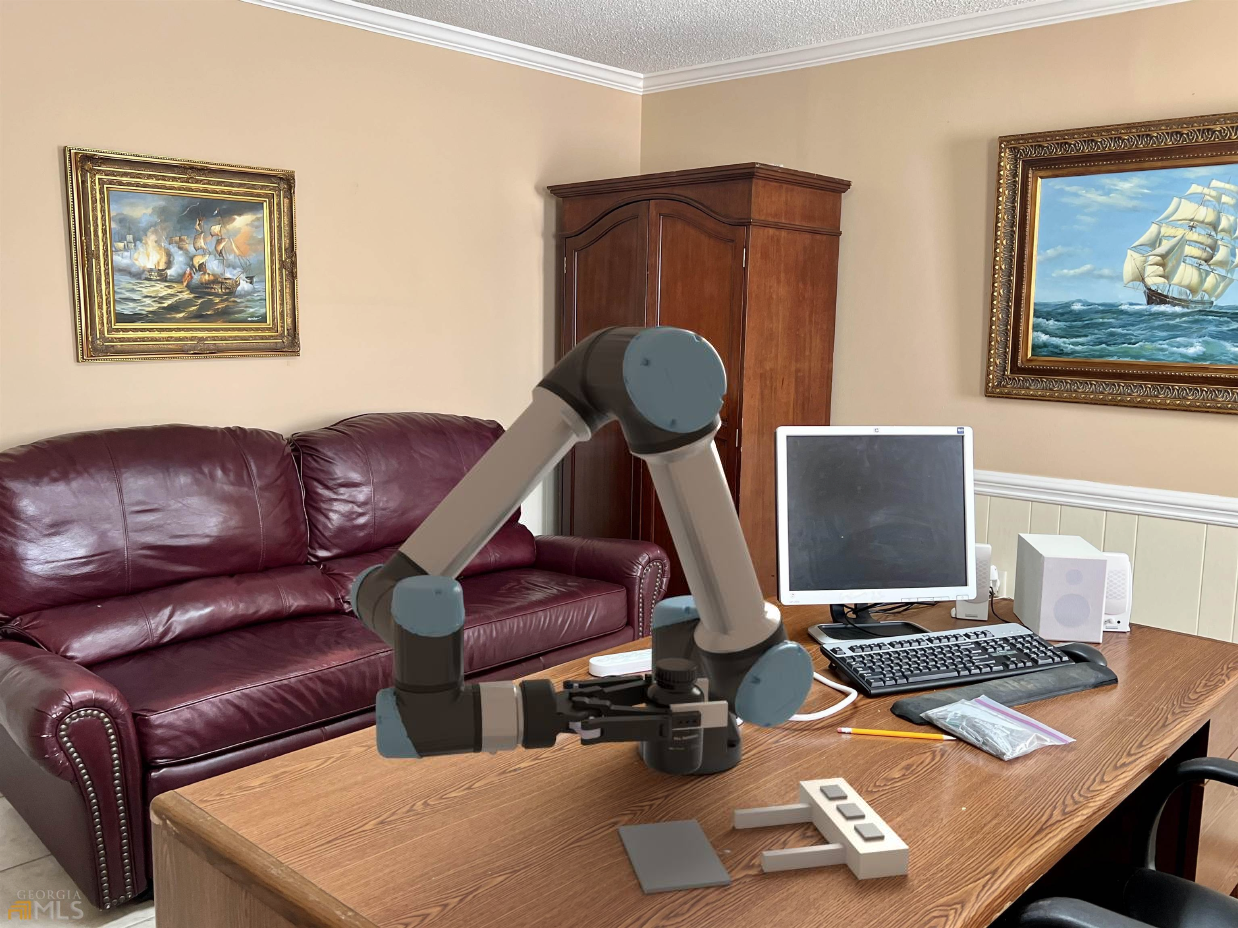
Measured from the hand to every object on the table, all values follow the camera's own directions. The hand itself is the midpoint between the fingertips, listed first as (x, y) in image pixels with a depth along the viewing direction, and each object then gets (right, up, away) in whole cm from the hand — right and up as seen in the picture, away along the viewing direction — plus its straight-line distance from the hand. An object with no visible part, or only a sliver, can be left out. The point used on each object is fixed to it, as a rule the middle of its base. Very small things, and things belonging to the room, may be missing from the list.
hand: (716, 701), depth 116 cm
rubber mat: (-5, -19, +2) cm, 19 cm away
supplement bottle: (-5, -7, 0) cm, 9 cm away
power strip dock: (+12, -18, +5) cm, 23 cm away
